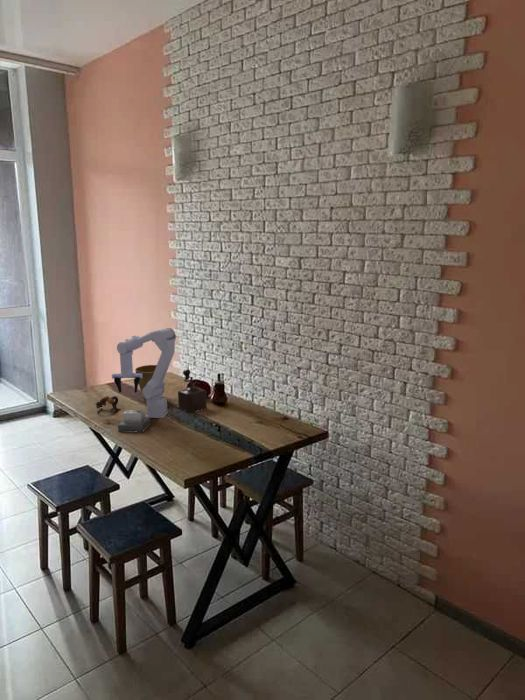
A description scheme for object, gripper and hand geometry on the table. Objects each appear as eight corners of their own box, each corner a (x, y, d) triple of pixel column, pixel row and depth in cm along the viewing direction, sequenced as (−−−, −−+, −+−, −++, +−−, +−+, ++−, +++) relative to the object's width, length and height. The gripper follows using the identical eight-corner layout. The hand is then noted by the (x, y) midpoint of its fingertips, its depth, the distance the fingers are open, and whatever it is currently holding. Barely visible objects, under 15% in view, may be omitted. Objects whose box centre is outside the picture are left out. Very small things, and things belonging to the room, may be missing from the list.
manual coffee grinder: (208, 407, 272) (207, 373, 268) (191, 413, 264) (190, 377, 260) (188, 401, 282) (187, 368, 278) (171, 406, 274) (170, 372, 270)
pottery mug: (110, 415, 262) (100, 401, 261) (99, 420, 268) (90, 406, 266) (126, 403, 272) (116, 389, 270) (115, 407, 277) (106, 394, 276)
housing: (123, 422, 243) (123, 412, 242) (127, 419, 247) (126, 409, 246) (141, 423, 242) (140, 413, 241) (143, 420, 246) (143, 410, 245)
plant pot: (135, 394, 294) (134, 366, 291) (163, 392, 299) (161, 364, 295) (137, 402, 280) (136, 372, 277) (166, 399, 285) (165, 370, 281)
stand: (150, 423, 250) (149, 417, 249) (142, 432, 239) (141, 426, 239) (127, 422, 251) (126, 416, 250) (118, 431, 240) (118, 425, 240)
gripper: (109, 367, 260) (111, 394, 263) (139, 367, 260) (141, 394, 263) (113, 364, 266) (114, 390, 269) (142, 363, 267) (144, 390, 270)
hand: (128, 392), depth 267 cm, fingers open, 7 cm apart
